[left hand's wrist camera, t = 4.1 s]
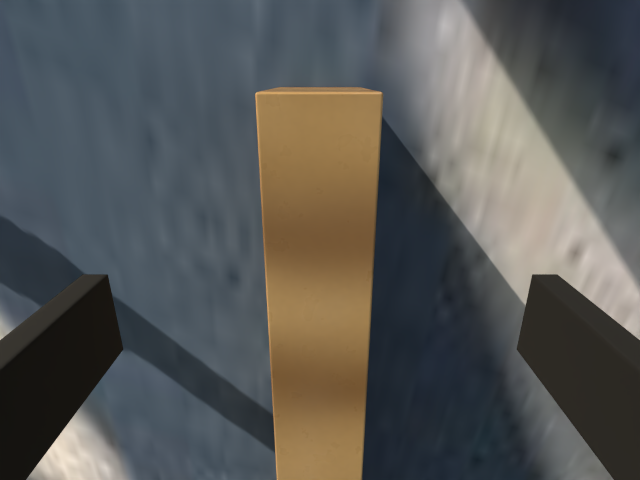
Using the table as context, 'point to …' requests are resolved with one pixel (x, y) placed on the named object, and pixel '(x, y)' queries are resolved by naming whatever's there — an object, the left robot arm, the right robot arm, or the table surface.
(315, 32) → the table surface
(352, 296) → the bar
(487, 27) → the table surface
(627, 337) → the left robot arm
